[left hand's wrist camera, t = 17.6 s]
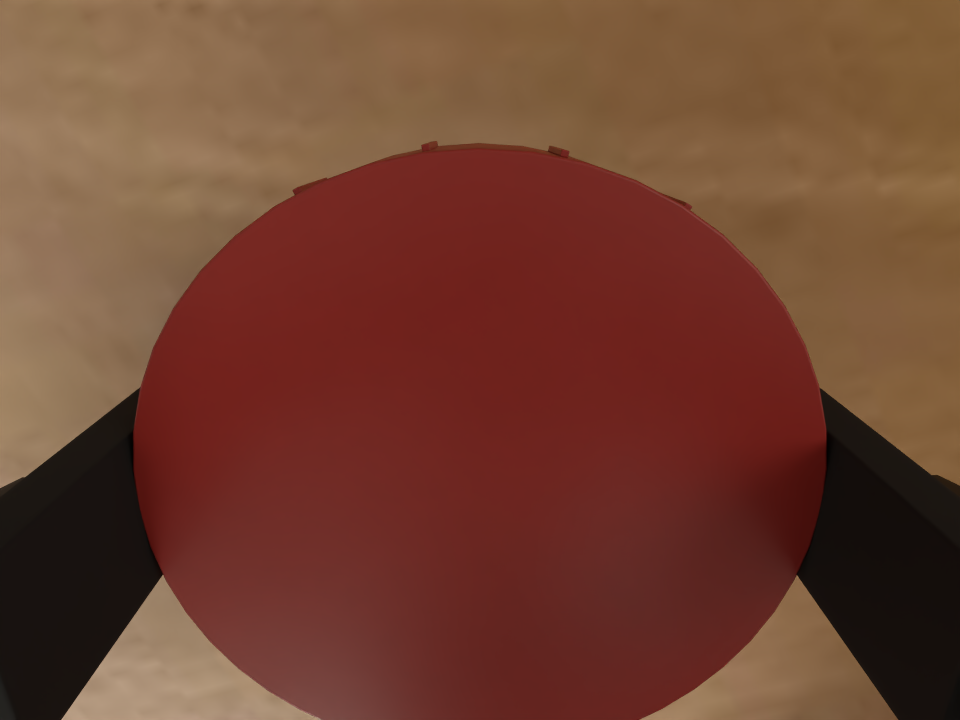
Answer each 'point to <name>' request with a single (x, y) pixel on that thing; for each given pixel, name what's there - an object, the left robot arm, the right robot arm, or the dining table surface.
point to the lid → (479, 443)
